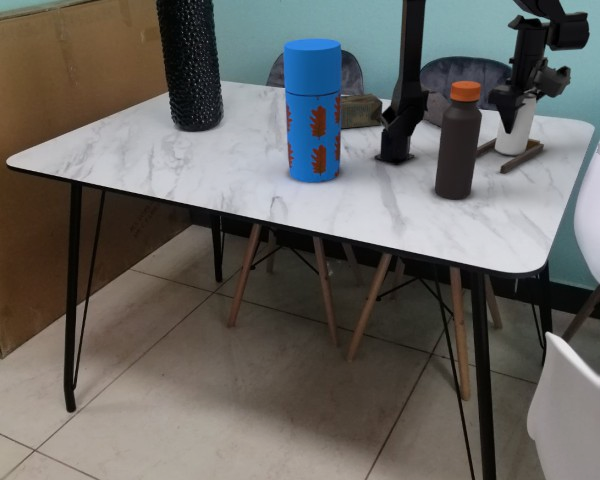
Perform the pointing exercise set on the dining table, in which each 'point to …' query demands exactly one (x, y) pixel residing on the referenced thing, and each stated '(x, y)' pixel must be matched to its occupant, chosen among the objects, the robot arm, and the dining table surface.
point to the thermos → (313, 108)
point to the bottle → (459, 141)
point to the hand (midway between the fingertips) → (515, 129)
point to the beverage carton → (360, 110)
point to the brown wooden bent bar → (533, 150)
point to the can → (517, 129)
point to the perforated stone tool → (435, 107)
